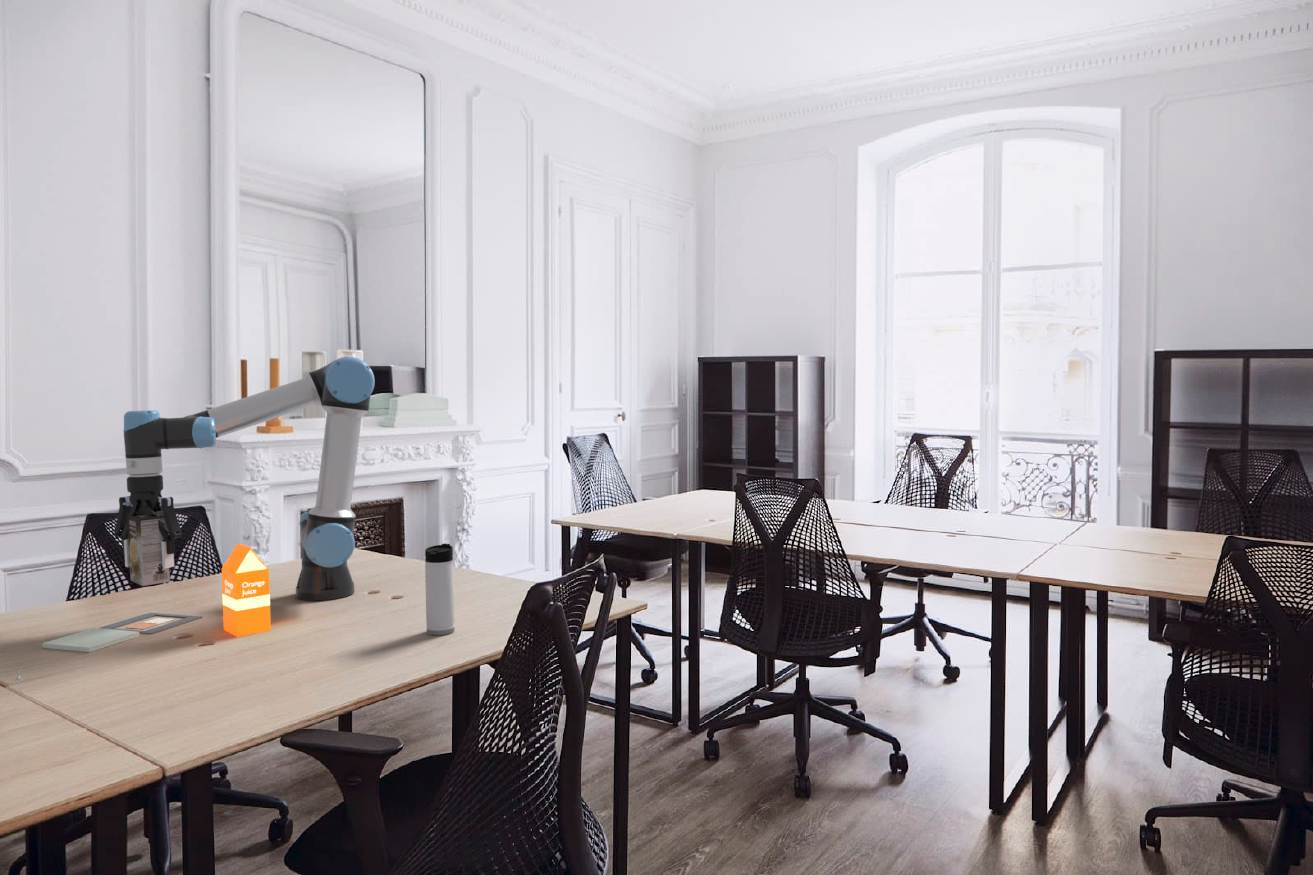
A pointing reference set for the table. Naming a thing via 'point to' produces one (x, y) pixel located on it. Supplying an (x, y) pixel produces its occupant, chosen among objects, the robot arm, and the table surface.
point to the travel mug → (439, 589)
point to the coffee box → (146, 550)
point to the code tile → (153, 621)
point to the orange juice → (245, 593)
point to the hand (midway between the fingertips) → (149, 566)
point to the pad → (91, 640)
